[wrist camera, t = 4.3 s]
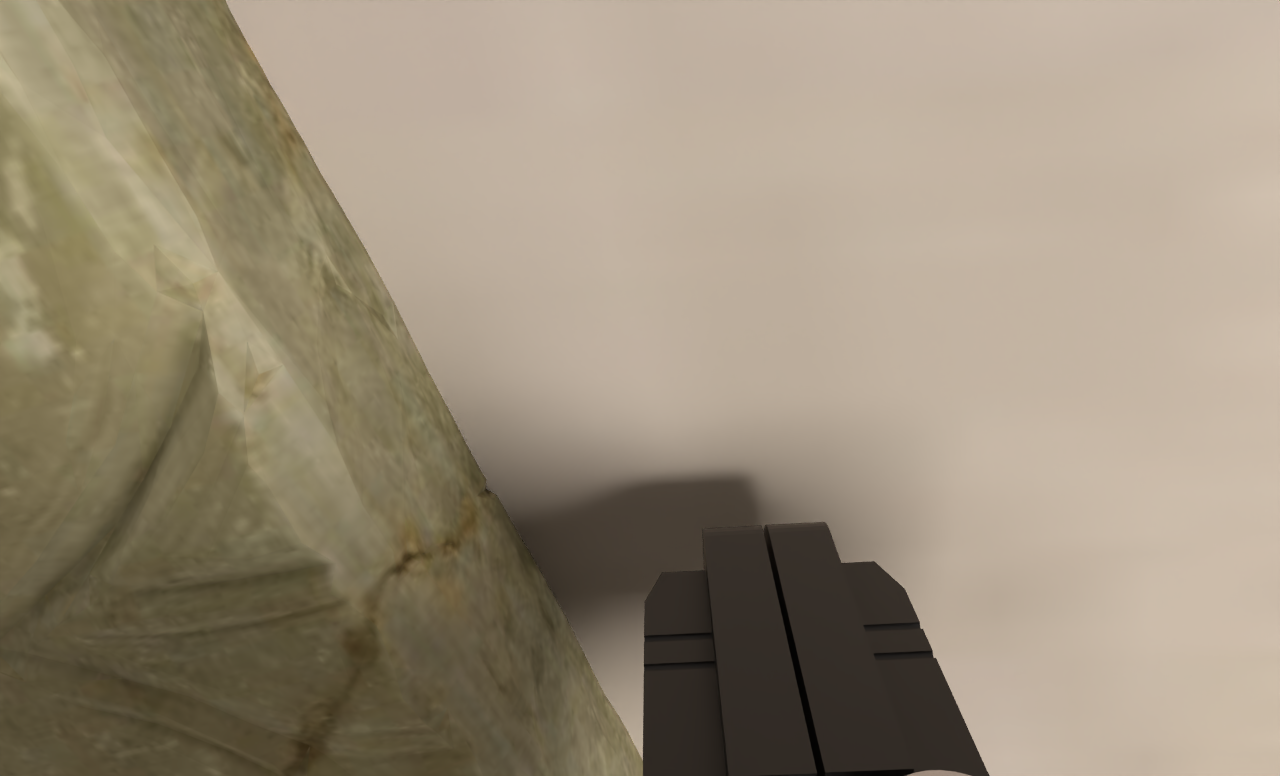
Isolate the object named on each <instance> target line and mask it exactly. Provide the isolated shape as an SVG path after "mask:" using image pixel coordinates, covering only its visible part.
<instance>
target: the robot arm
mask: <svg viewBox="0 0 1280 776" xmlns="http://www.w3.org/2000/svg"><path fill="white" fill-rule="evenodd" d="M702 538H703V560H704V570H702V571H682V572H662V574H661V575H660V577H659V579H658V580H657V582H656V584H655V585H654V587H653V589H652V590H651V592H650V594H649V595H648V597H647V599H646V600H645V617H644V638H645V642H644V716H643V776H989V774H988V772H987V770H986V768H985V765H984V763H983V761H982V759H981V757H980V754H979V752H978V750H977V748H976V746H975V743H974V741H973V739H972V737H971V735H970V732H969V730H968V728H967V726H966V723H965V721H964V719H963V717H962V715H961V712H960V710H959V708H958V706H957V704H956V701H955V699H954V697H953V695H952V692H951V690H950V688H949V686H948V684H947V681H946V679H945V677H944V675H943V673H942V670H941V668H940V666H939V664H938V662H937V659H936V658H934V657H933V650H932V648H931V646H930V644H929V642H928V639H927V637H926V635H925V633H924V631H923V629H921V628H920V622H919V620H918V617H917V615H916V613H915V611H914V608H913V606H912V604H911V602H910V600H909V597H908V595H907V593H906V591H905V589H904V588H903V587H902V586H901V585H900V584H899V583H898V582H896V581H895V580H894V579H893V578H892V577H891V576H890V575H889V574H888V573H886V572H885V571H884V570H883V569H882V568H881V567H880V566H879V565H878V564H876V563H875V562H855V563H841V561H840V558H839V556H838V553H837V550H836V547H835V544H834V542H833V539H832V536H831V533H830V530H829V528H828V525H827V524H826V523H825V522H815V523H796V524H777V525H765V528H764V533H763V529H762V527H761V526H744V527H725V528H706V529H702Z"/></svg>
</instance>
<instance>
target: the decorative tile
mask: <svg viewBox="0 0 1280 776" xmlns="http://www.w3.org/2000/svg"><path fill="white" fill-rule="evenodd" d="M0 776H643V760H642V759H641V757H640V755H639V753H638V751H637V749H636V747H635V745H634V743H633V741H632V739H631V737H630V735H629V733H628V732H627V730H626V728H625V726H624V724H623V723H622V721H621V719H620V717H619V716H618V714H617V713H616V711H615V710H614V708H613V707H612V705H611V704H610V702H609V701H608V699H607V698H606V696H605V694H604V692H603V690H602V688H601V686H600V685H599V683H598V681H597V679H596V677H595V675H594V673H593V671H592V669H591V667H590V665H589V663H588V661H587V659H586V657H585V655H584V653H583V651H582V649H581V647H580V645H579V643H578V641H577V639H576V637H575V635H574V633H573V631H572V629H571V627H570V625H569V623H568V621H567V619H566V617H565V615H564V613H563V612H562V610H561V608H560V606H559V605H558V603H557V601H556V599H555V597H554V596H553V594H552V592H551V590H550V589H549V587H548V585H547V583H546V581H545V579H544V577H543V575H542V574H541V572H540V570H539V568H538V567H537V565H536V563H535V561H534V560H533V558H532V556H531V554H530V553H529V551H528V549H527V548H526V546H525V544H524V543H523V541H522V540H521V538H520V536H519V535H518V533H517V531H516V529H515V527H514V525H513V524H512V522H511V520H510V518H509V516H508V515H507V513H506V511H505V509H504V507H503V506H502V504H501V502H500V500H499V499H498V497H497V495H495V494H494V493H492V492H490V491H488V490H486V478H485V477H484V475H483V474H482V472H481V470H480V469H479V467H478V465H477V463H476V461H475V459H474V457H473V456H472V454H471V452H470V450H469V448H468V446H467V445H466V443H465V441H464V439H463V437H462V435H461V433H460V431H459V429H458V427H457V425H456V423H455V421H454V419H453V417H452V415H451V414H450V412H449V410H448V408H447V406H446V404H445V402H444V400H443V398H442V396H441V395H440V393H439V391H438V389H437V387H436V385H435V383H434V381H433V379H432V378H431V376H430V374H429V372H428V370H427V368H426V366H425V364H424V362H423V360H422V357H421V355H420V353H419V351H418V349H417V347H416V346H415V344H414V342H413V340H412V338H411V336H410V334H409V332H408V330H407V328H406V326H405V324H404V322H403V319H402V317H401V315H400V313H399V311H398V309H397V307H396V305H395V303H394V301H393V300H392V298H391V296H390V294H389V292H388V290H387V288H386V287H385V285H384V283H383V281H382V279H381V277H380V275H379V274H378V272H377V270H376V268H375V266H374V264H373V262H372V261H371V259H370V257H369V255H368V253H367V251H366V249H365V248H364V246H363V244H362V243H361V241H360V239H359V237H358V236H357V234H356V232H355V230H354V229H353V227H352V225H351V224H350V222H349V220H348V218H347V217H346V215H345V213H344V212H343V210H342V208H341V206H340V205H339V203H338V201H337V199H336V198H335V196H334V194H333V193H332V191H331V189H330V188H329V186H328V184H327V183H326V181H325V180H324V178H323V176H322V175H321V173H320V171H319V169H318V168H317V166H316V164H315V162H314V160H313V158H312V156H311V154H310V152H309V151H308V149H307V147H306V145H305V143H304V141H303V139H302V138H301V136H300V135H299V133H298V131H297V130H296V128H295V126H294V124H293V123H292V121H291V119H290V117H289V115H288V113H287V112H286V110H285V108H284V106H283V104H282V103H281V101H280V99H279V98H278V96H277V95H276V93H275V91H274V90H273V88H272V87H271V85H270V83H269V81H268V79H267V77H266V75H265V73H264V71H263V69H262V68H261V66H260V64H259V62H258V61H257V59H256V57H255V55H254V54H253V52H252V50H251V48H250V47H249V45H248V43H247V41H246V40H245V38H244V36H243V34H242V32H241V30H240V28H239V27H238V25H237V23H236V21H235V19H234V17H233V15H232V14H231V12H230V10H229V8H228V5H227V3H226V1H225V0H0Z"/></svg>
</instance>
